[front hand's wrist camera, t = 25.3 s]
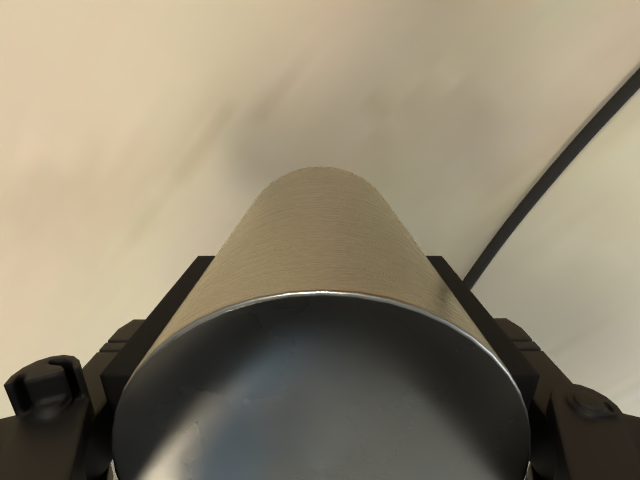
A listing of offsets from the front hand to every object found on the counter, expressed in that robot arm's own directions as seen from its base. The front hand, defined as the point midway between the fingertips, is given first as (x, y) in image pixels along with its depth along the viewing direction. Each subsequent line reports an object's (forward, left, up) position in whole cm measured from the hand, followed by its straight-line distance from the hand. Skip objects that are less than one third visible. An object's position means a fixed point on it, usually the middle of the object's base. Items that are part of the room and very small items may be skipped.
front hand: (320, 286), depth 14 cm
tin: (0, 0, -5) cm, 5 cm away
